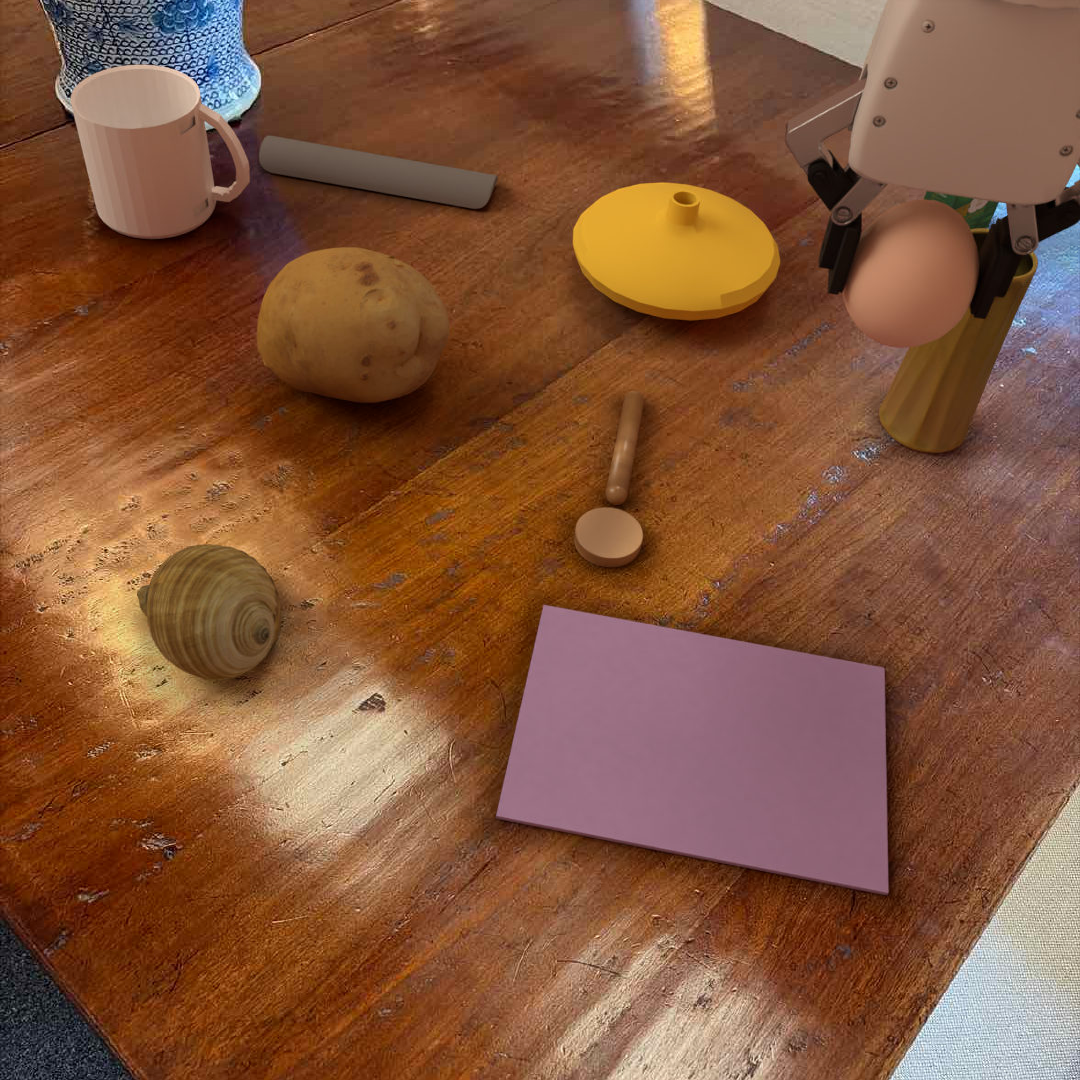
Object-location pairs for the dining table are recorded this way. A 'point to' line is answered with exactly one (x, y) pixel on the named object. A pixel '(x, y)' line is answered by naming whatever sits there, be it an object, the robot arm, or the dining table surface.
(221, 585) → the seashell
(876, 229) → the egg
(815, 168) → the robot arm
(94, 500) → the dining table surface
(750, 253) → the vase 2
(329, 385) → the potato
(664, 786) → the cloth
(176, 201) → the mug
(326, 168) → the half round rod
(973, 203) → the coffee box
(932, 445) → the vase
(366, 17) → the dining table surface
